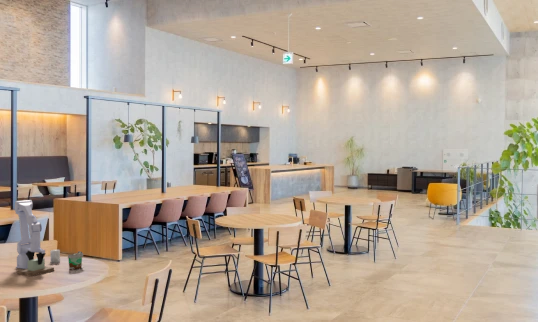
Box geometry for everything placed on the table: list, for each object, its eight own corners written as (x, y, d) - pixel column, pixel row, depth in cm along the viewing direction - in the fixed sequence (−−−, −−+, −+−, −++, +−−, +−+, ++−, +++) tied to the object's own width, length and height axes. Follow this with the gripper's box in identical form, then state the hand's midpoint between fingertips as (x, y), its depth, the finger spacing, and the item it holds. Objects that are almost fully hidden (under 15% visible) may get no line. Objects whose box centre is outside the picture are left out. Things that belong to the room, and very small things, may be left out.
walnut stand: (17, 274, 328) (17, 270, 328) (38, 268, 343) (38, 265, 343) (33, 276, 322) (33, 273, 322) (54, 270, 337) (54, 267, 337)
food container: (76, 270, 336) (76, 255, 336) (67, 270, 337) (67, 254, 337) (87, 266, 348) (86, 251, 348) (78, 266, 349) (78, 251, 349)
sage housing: (27, 270, 330) (27, 260, 330) (40, 266, 339) (40, 257, 339) (32, 270, 328) (32, 261, 328) (46, 267, 337) (45, 258, 337)
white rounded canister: (48, 262, 361) (48, 250, 361) (55, 260, 367) (55, 249, 366) (54, 263, 359) (54, 251, 358) (61, 261, 364) (61, 250, 364)
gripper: (48, 242, 332) (49, 263, 333) (32, 240, 339) (33, 261, 339) (39, 244, 326) (39, 265, 327) (23, 242, 332) (23, 263, 333)
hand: (35, 263), depth 332 cm, fingers open, 7 cm apart
